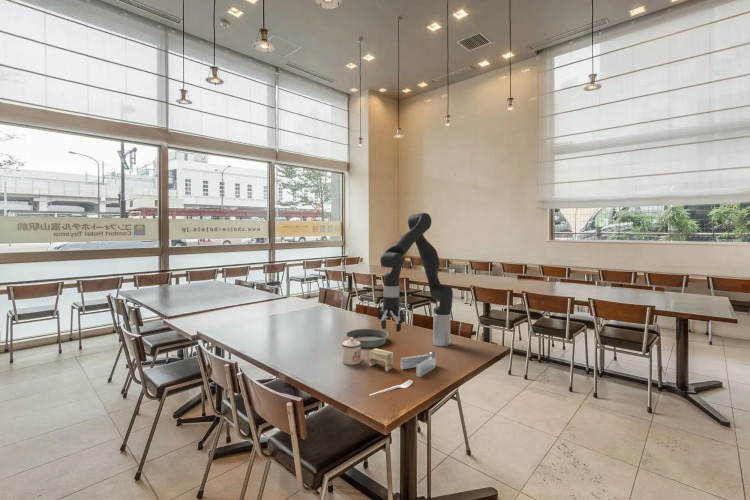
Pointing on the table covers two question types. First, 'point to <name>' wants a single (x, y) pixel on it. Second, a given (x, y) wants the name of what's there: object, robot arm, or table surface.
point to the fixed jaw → (425, 366)
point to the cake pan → (374, 340)
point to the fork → (395, 387)
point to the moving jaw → (414, 360)
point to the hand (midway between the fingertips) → (391, 330)
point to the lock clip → (381, 358)
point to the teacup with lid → (351, 352)
